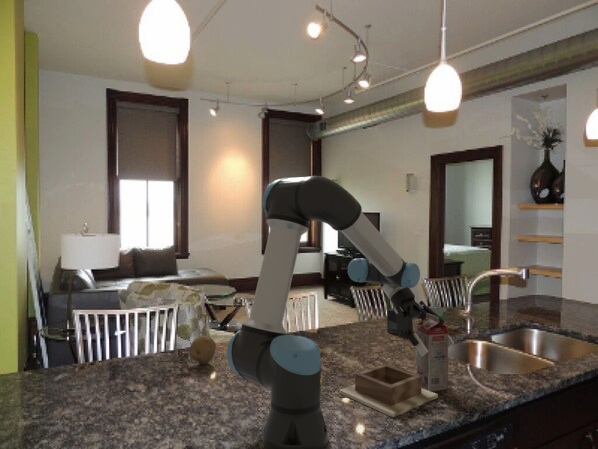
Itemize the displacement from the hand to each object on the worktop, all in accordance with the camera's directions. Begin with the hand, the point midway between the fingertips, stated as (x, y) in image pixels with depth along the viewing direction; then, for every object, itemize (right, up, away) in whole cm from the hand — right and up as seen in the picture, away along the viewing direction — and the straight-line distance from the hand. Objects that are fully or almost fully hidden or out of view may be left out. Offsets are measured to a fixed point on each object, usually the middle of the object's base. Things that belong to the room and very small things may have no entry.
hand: (438, 349), depth 135 cm
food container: (+19, -10, +70) cm, 73 cm away
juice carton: (-1, -12, +2) cm, 12 cm away
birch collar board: (-16, -12, -5) cm, 21 cm away
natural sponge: (-76, -11, +21) cm, 80 cm away
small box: (+2, -10, +64) cm, 65 cm away
